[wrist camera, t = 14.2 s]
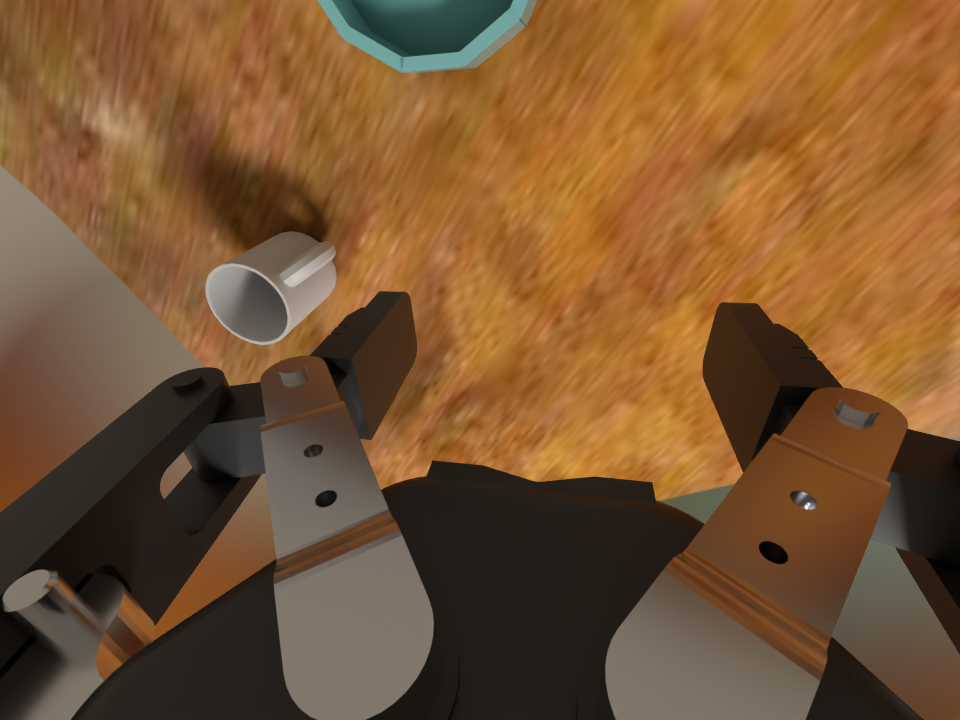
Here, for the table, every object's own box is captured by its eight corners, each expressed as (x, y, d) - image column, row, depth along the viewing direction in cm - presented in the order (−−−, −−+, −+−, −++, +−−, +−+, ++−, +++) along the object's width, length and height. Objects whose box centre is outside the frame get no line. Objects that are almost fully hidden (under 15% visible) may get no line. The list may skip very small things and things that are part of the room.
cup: (253, 252, 43) (188, 289, 36) (323, 198, 39) (265, 227, 31) (304, 311, 46) (253, 357, 38) (374, 266, 42) (332, 308, 34)
